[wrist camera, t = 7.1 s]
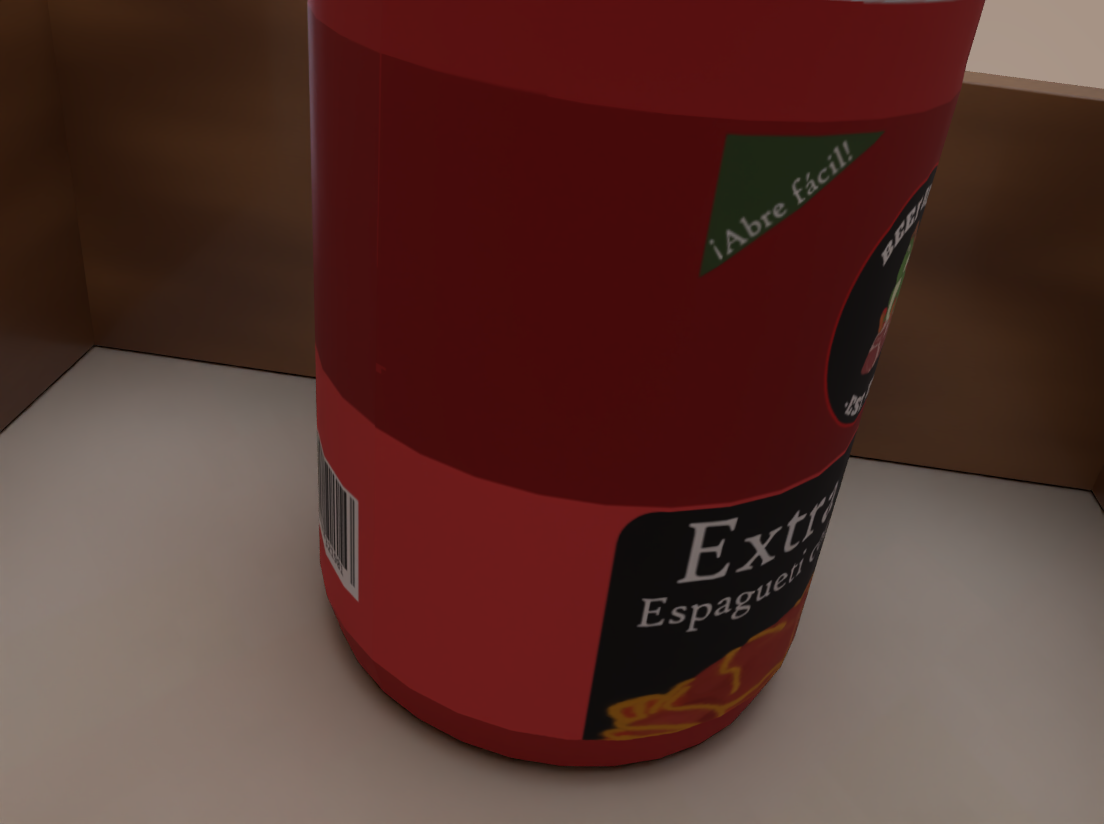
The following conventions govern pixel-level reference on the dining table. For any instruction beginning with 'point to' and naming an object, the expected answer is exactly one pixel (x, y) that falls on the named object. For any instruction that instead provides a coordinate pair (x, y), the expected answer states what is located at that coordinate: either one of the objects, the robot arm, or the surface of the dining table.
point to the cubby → (287, 234)
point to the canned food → (602, 339)
